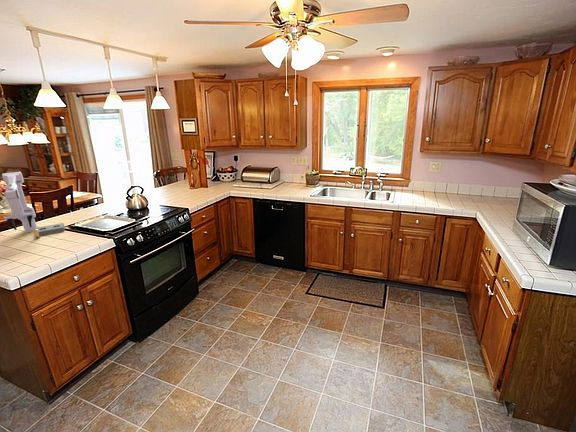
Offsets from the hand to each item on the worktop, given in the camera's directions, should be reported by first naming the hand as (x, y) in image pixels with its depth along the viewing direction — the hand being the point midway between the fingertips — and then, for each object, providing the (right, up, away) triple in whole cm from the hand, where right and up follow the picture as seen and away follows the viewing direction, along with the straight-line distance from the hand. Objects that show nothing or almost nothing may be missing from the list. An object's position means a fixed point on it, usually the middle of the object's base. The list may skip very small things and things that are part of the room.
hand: (23, 228), depth 195 cm
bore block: (+1, -3, +21) cm, 22 cm away
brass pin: (+1, -7, +10) cm, 12 cm away
